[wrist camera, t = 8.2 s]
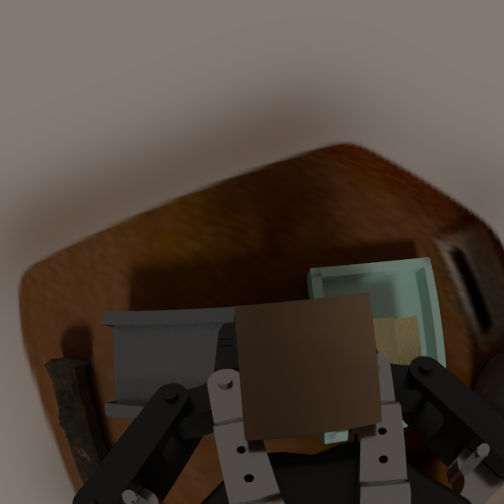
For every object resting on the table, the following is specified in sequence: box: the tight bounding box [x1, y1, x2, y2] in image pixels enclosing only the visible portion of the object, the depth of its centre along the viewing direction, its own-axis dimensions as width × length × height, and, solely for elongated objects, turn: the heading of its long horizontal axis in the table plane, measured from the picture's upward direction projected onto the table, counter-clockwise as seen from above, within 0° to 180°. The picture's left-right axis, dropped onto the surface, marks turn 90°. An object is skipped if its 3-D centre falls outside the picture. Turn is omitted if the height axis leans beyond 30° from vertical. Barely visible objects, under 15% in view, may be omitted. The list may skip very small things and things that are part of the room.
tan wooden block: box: [235, 292, 382, 441], centre depth 13 cm, size 4×5×12 cm
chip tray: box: [306, 257, 446, 444], centre depth 23 cm, size 11×14×2 cm
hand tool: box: [45, 357, 108, 484], centre depth 20 cm, size 19×4×5 cm, turn 14°
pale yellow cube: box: [373, 317, 399, 364], centre depth 19 cm, size 4×4×4 cm
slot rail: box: [102, 307, 235, 419], centre depth 22 cm, size 16×8×5 cm, turn 94°
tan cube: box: [394, 316, 422, 365], centre depth 22 cm, size 4×4×4 cm
